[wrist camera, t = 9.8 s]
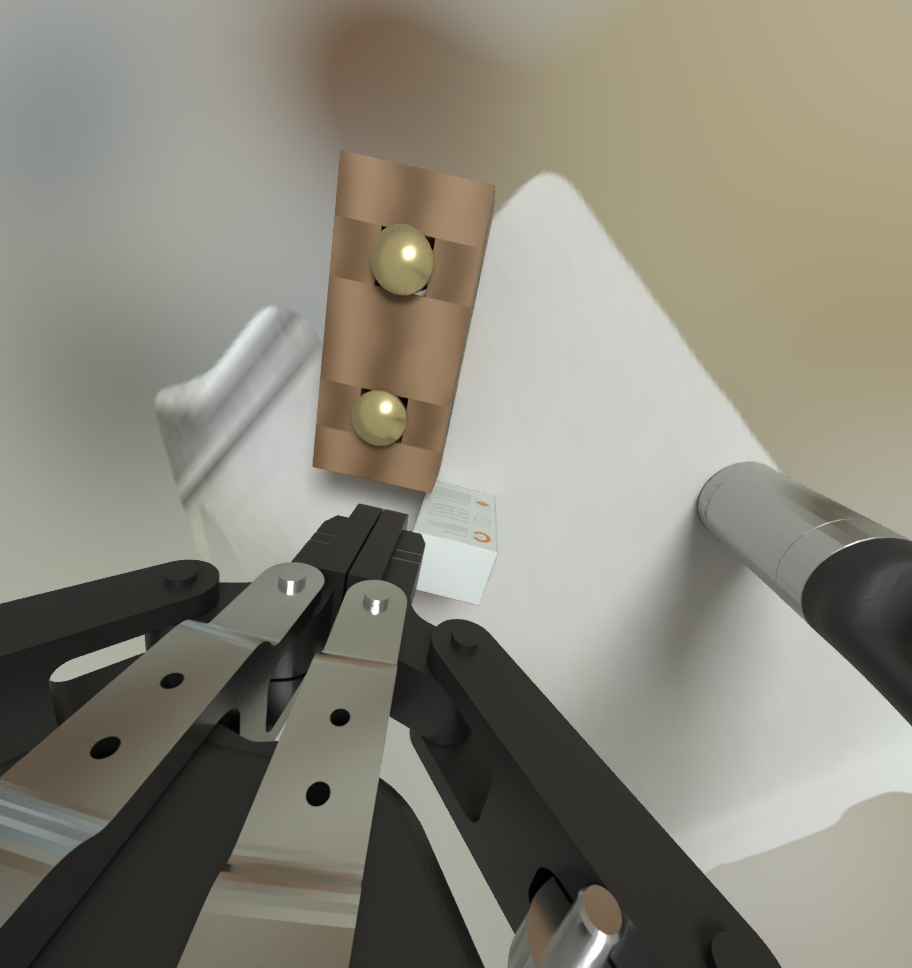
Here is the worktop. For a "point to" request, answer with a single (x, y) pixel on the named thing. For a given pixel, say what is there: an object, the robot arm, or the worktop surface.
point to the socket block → (398, 316)
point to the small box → (457, 542)
